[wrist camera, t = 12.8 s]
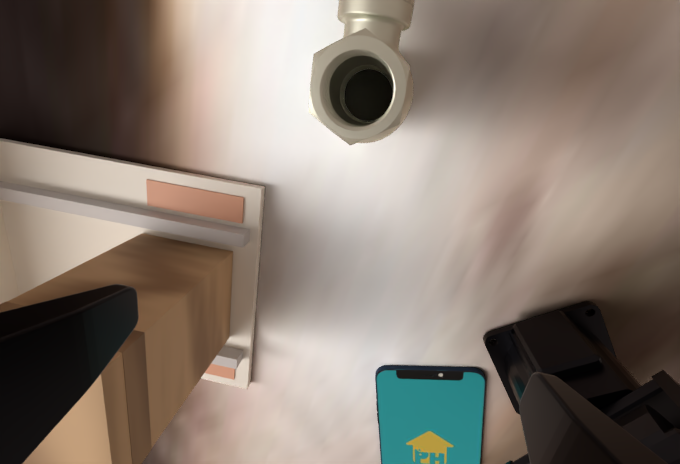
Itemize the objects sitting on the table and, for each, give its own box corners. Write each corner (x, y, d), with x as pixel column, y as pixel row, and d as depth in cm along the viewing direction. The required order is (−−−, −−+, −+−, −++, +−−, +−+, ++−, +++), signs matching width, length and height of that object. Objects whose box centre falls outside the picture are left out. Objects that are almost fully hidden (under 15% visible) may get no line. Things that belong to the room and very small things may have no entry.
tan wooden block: (233, 251, 21) (101, 371, 12) (229, 337, 24) (116, 499, 14) (141, 232, 22) (-60, 334, 12) (146, 319, 24) (-19, 463, 14)
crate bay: (264, 186, 20) (210, 220, 14) (250, 383, 26) (206, 469, 20) (-18, 134, 22) (-178, 145, 16) (24, 331, 27) (-84, 396, 21)
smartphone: (384, 520, 28) (373, 370, 23) (384, 509, 29) (374, 362, 24) (478, 526, 27) (487, 371, 22) (475, 515, 28) (484, 362, 23)
